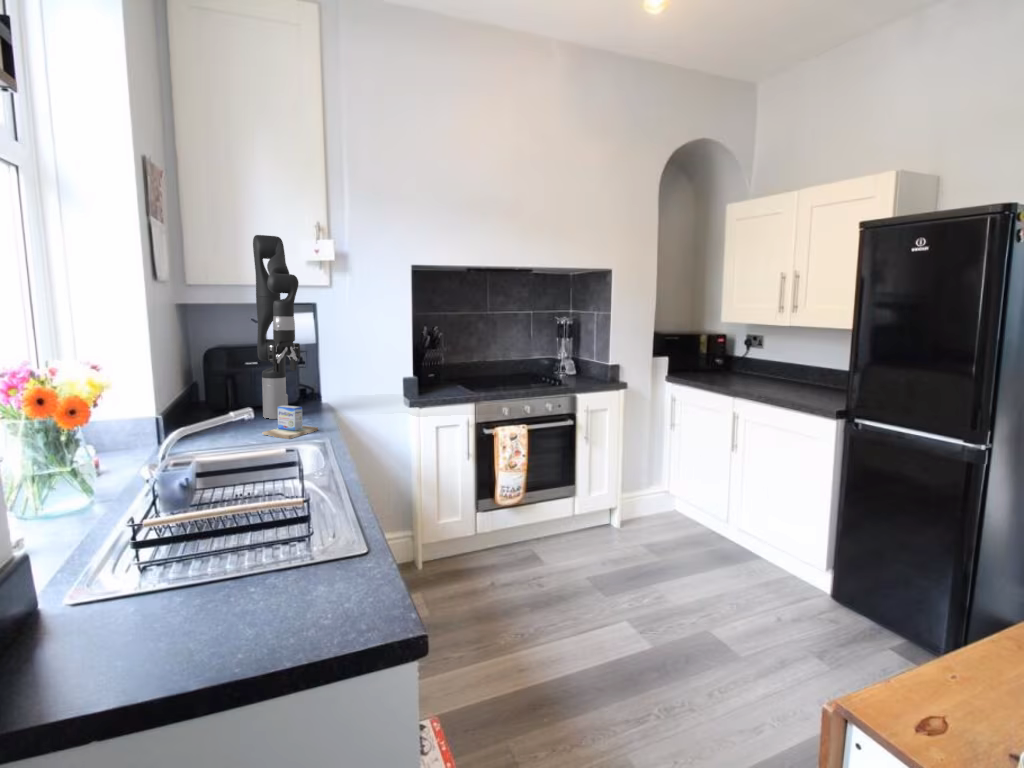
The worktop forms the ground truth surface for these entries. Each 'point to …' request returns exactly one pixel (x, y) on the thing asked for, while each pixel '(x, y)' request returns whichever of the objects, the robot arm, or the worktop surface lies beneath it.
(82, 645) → the worktop surface
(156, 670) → the worktop surface
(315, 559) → the worktop surface
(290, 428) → the medicine box
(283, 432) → the board
